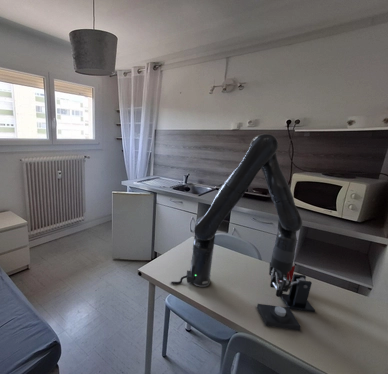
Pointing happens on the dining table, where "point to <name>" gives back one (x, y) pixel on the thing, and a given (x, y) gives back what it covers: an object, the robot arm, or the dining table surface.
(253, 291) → the dining table surface
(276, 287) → the flush lever
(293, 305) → the bracket
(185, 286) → the dining table surface
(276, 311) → the flush button
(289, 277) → the soda can
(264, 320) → the flush panel
